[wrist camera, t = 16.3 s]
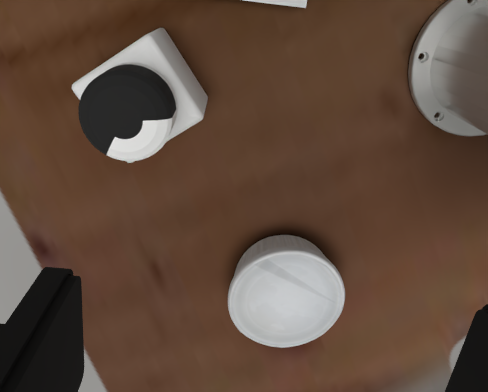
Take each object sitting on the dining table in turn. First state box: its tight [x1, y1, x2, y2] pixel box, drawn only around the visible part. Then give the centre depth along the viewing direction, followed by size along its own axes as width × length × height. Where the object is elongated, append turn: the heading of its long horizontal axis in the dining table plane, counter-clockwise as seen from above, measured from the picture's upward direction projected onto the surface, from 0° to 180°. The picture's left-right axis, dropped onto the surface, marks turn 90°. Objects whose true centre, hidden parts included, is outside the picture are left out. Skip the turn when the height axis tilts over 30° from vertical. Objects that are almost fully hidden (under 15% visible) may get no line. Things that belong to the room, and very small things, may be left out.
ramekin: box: [228, 235, 345, 348], centre depth 46 cm, size 11×11×5 cm
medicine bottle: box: [72, 28, 208, 163], centre depth 35 cm, size 7×7×12 cm
